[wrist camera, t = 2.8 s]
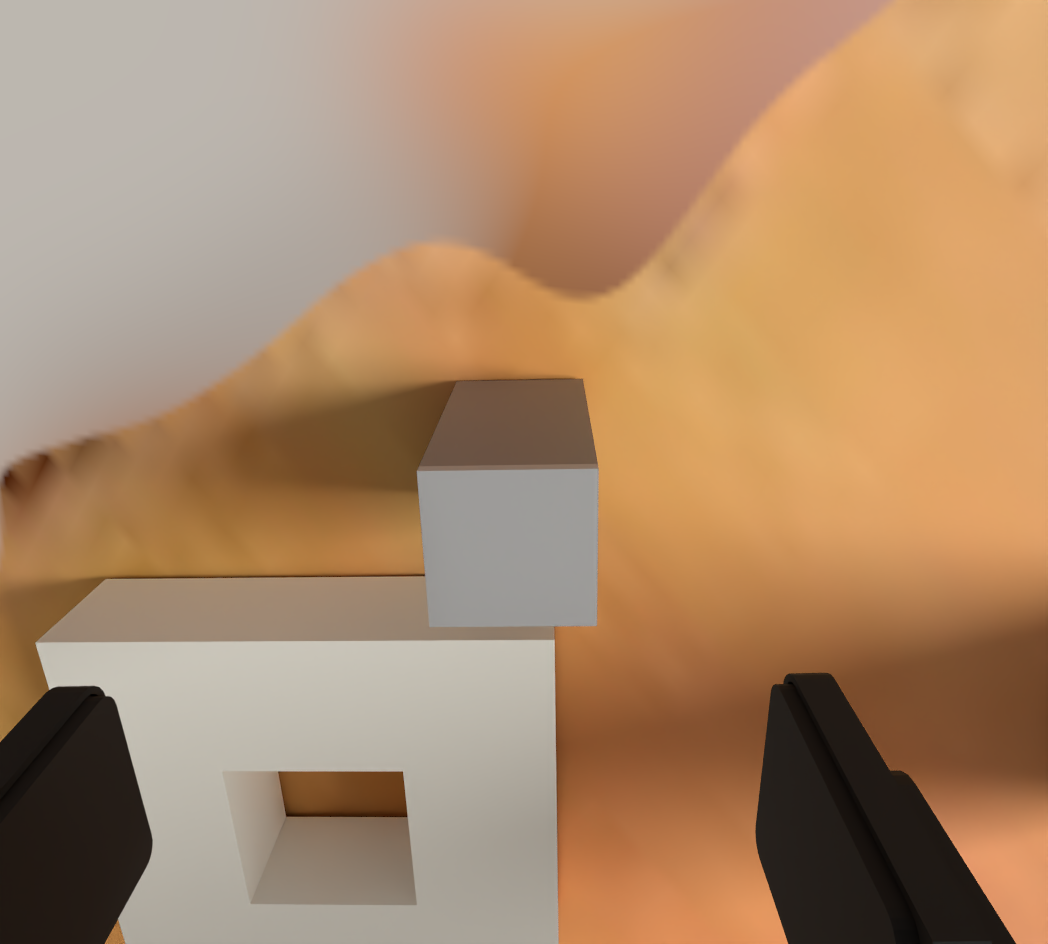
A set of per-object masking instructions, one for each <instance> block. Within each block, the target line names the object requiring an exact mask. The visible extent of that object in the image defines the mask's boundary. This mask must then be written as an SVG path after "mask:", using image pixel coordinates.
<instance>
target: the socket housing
mask: <svg viewBox="0 0 1048 944" xmlns="http://www.w3.org/2000/svg"><path fill="white" fill-rule="evenodd" d="M35 643H36V647H37V650H38V653H39V657H40V660H41V663H42V667H43V670H44V673H45V677H46V680H47V683H48V687H49V690H50V689H51V688H54V687H58V686H97V687H100V688H101V689H102V690H103V691H104V693H105V696H110V697H112V698H113V699H114V700H115V702H116V705H117V708H118V712H119V716H120V719H121V723H122V727H123V730H124V734H125V738H126V741H127V745H128V749H129V753H130V756H131V760H132V764H133V767H134V771H135V775H136V778H137V782H138V786H139V789H140V793H141V797H142V800H143V804H144V808H145V812H146V815H147V819H148V823H149V826H150V830H151V834H152V839H153V846H152V853H151V857H150V860H149V863H148V865H147V867H146V869H145V871H144V873H143V874H142V876H141V878H140V880H139V882H138V884H137V885H136V887H135V889H134V891H133V893H132V894H131V896H130V898H129V900H128V902H127V904H126V905H125V907H124V909H123V911H122V913H121V914H120V916H119V918H118V920H119V924H120V927H121V930H122V934H123V937H124V940H125V944H559V943H558V866H557V789H556V712H555V636H554V626H518V627H429V616H428V604H427V592H426V579H425V576H407V577H286V578H165V579H105V580H104V581H103V582H102V583H101V584H99V585H98V586H97V587H96V588H95V589H94V590H93V591H92V592H91V593H90V594H88V595H87V596H86V597H85V598H84V599H83V600H82V601H81V602H80V603H78V604H77V605H76V606H75V607H74V608H73V609H72V610H71V611H70V612H69V613H67V614H66V615H65V616H64V617H63V618H62V619H61V620H60V621H59V622H57V623H56V624H55V625H54V626H53V627H52V628H51V629H50V630H49V631H48V632H46V633H45V634H44V635H43V636H42V637H41V638H40V639H39V640H38V641H36V642H35ZM278 771H403V776H404V785H405V795H406V805H407V814H408V817H286V813H285V808H284V802H283V797H282V791H281V785H280V780H279V774H278Z"/></svg>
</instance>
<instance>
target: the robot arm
mask: <svg viewBox="0 0 1048 944" xmlns="http://www.w3.org/2000/svg"><path fill="white" fill-rule="evenodd" d="M756 844H757V849H758V854H759V858H760V861H761V864H762V867H763V870H764V873H765V876H766V879H767V881H768V884H769V887H770V890H771V893H772V896H773V899H774V902H775V905H776V908H777V911H778V914H779V917H780V920H781V923H782V926H783V929H784V932H785V935H786V938H787V941H788V944H1016V943H1015V941H1014V940H1013V938H1012V937H1011V935H1010V933H1009V932H1008V930H1007V929H1006V927H1005V925H1004V924H1003V922H1002V921H1001V919H1000V917H999V916H998V914H997V913H996V911H995V910H994V908H993V906H992V905H991V903H990V902H989V900H988V898H987V897H986V895H985V894H984V892H983V891H982V889H981V887H980V886H979V884H978V883H977V881H976V879H975V878H974V876H973V875H972V873H971V872H970V870H969V868H968V867H967V865H966V864H965V862H964V860H963V859H962V857H961V856H960V854H959V853H958V851H957V849H956V848H955V846H954V845H953V843H952V841H951V840H950V838H949V837H948V835H947V833H946V832H945V830H944V829H943V827H942V826H941V824H940V822H939V821H938V819H937V818H936V816H935V814H934V813H933V811H932V810H931V808H930V807H929V805H928V803H927V802H926V800H925V799H924V797H923V795H922V794H921V792H920V791H919V789H918V788H917V786H916V784H915V783H914V782H913V781H912V779H911V778H910V777H909V776H908V775H907V774H906V773H904V772H902V771H890V770H889V769H888V767H887V765H886V764H885V762H884V760H883V759H882V757H881V755H880V754H879V752H878V750H877V749H876V747H875V745H874V744H873V742H872V740H871V739H870V737H869V736H868V734H867V732H866V731H865V729H864V727H863V726H862V724H861V722H860V721H859V719H858V717H857V716H856V714H855V712H854V711H853V709H852V707H851V706H850V704H849V702H848V701H847V699H846V697H845V696H844V694H843V692H842V691H841V689H840V687H839V686H838V684H837V682H836V681H835V679H834V678H833V677H832V675H831V674H828V673H796V674H788V675H786V677H785V679H784V684H775V685H773V687H772V690H771V696H770V705H769V714H768V723H767V732H766V740H765V749H764V758H763V767H762V776H761V785H760V793H759V802H758V811H757V820H756ZM152 846H153V839H152V834H151V830H150V826H149V823H148V819H147V815H146V812H145V808H144V804H143V800H142V797H141V793H140V789H139V786H138V782H137V778H136V775H135V771H134V767H133V764H132V760H131V756H130V753H129V749H128V745H127V741H126V738H125V734H124V730H123V727H122V723H121V719H120V716H119V712H118V708H117V705H116V702H115V700H114V699H113V698H112V697H110V696H105V693H104V691H103V690H102V689H101V688H100V687H97V686H58V687H54V688H51V689H50V690H49V691H48V692H46V693H45V694H44V696H43V697H42V698H41V699H40V700H39V701H38V702H37V703H36V704H35V705H34V706H33V707H32V709H31V710H30V711H29V712H28V713H27V714H26V715H25V716H24V717H23V718H22V719H21V720H20V721H19V723H18V724H17V725H16V726H15V727H14V728H13V729H12V730H11V731H10V732H9V733H8V734H7V735H6V737H5V738H4V739H3V740H2V741H1V742H0V944H105V942H106V940H107V938H108V936H109V934H110V933H111V931H112V929H113V927H114V925H115V924H116V922H117V920H118V918H119V916H120V914H121V913H122V911H123V909H124V907H125V905H126V904H127V902H128V900H129V898H130V896H131V894H132V893H133V891H134V889H135V887H136V885H137V884H138V882H139V880H140V878H141V876H142V874H143V873H144V871H145V869H146V867H147V865H148V863H149V860H150V857H151V853H152Z"/></svg>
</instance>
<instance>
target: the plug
mask: <svg viewBox="0 0 1048 944" xmlns="http://www.w3.org/2000/svg"><path fill="white" fill-rule="evenodd" d="M417 481H418V493H419V506H420V518H421V530H422V542H423V555H424V567H425V579H426V592H427V604H428V616H429V627H518V626H597V565H598V463H597V457H596V452H595V446H594V440H593V435H592V429H591V423H590V418H589V412H588V406H587V401H586V395H585V389H584V384H583V379H547V380H491V381H457V382H456V384H455V386H454V389H453V391H452V393H451V395H450V398H449V400H448V402H447V404H446V407H445V409H444V411H443V413H442V416H441V418H440V420H439V422H438V425H437V427H436V429H435V431H434V433H433V436H432V438H431V440H430V442H429V445H428V447H427V449H426V451H425V454H424V456H423V458H422V460H421V463H420V465H419V467H418V469H417Z"/></svg>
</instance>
